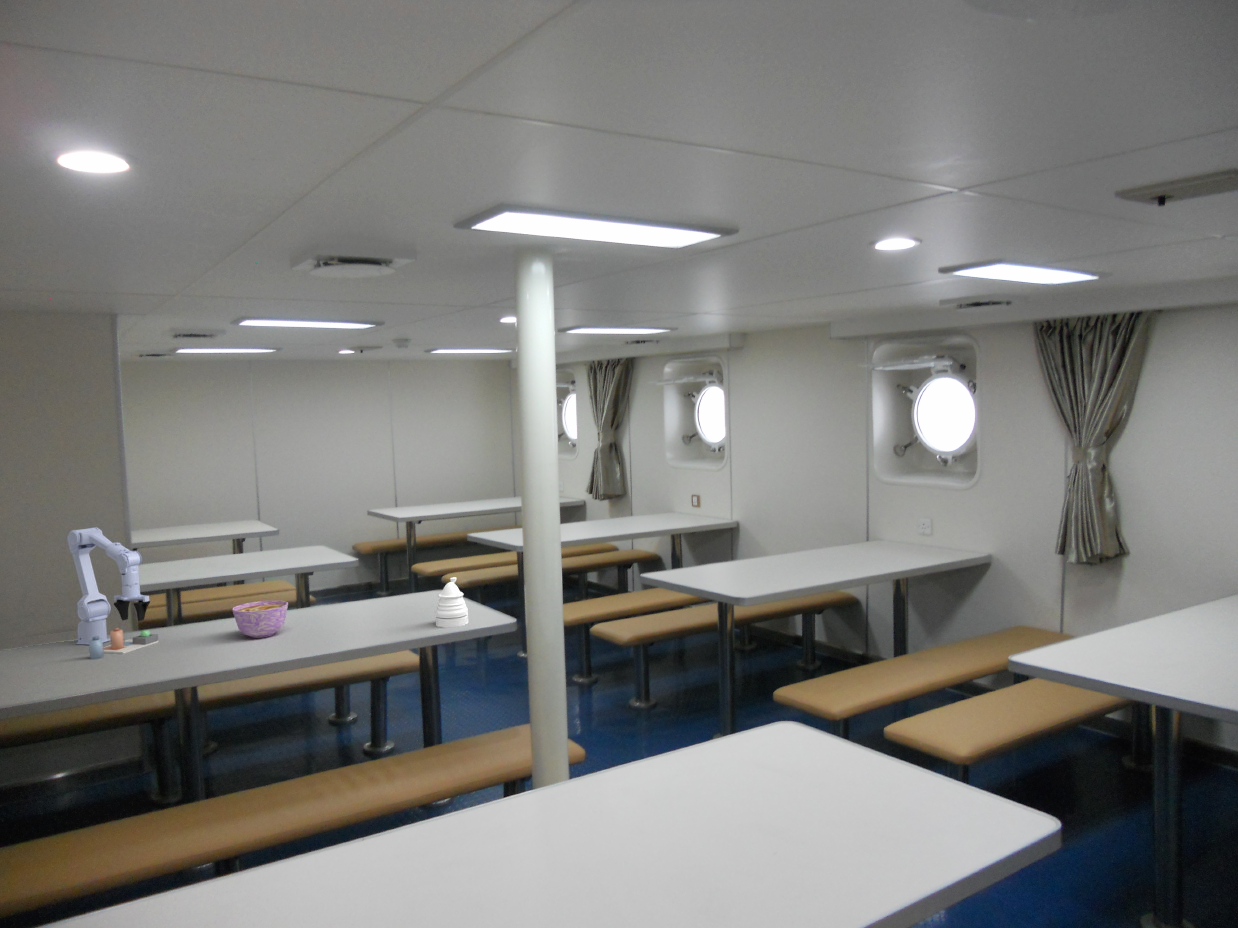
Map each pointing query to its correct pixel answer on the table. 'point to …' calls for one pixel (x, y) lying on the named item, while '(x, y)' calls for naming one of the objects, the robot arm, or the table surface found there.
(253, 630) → the bowl of food
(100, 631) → the robot arm
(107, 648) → the picture board
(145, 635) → the button
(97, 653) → the slate marker
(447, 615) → the honey pot
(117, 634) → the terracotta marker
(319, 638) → the table surface
